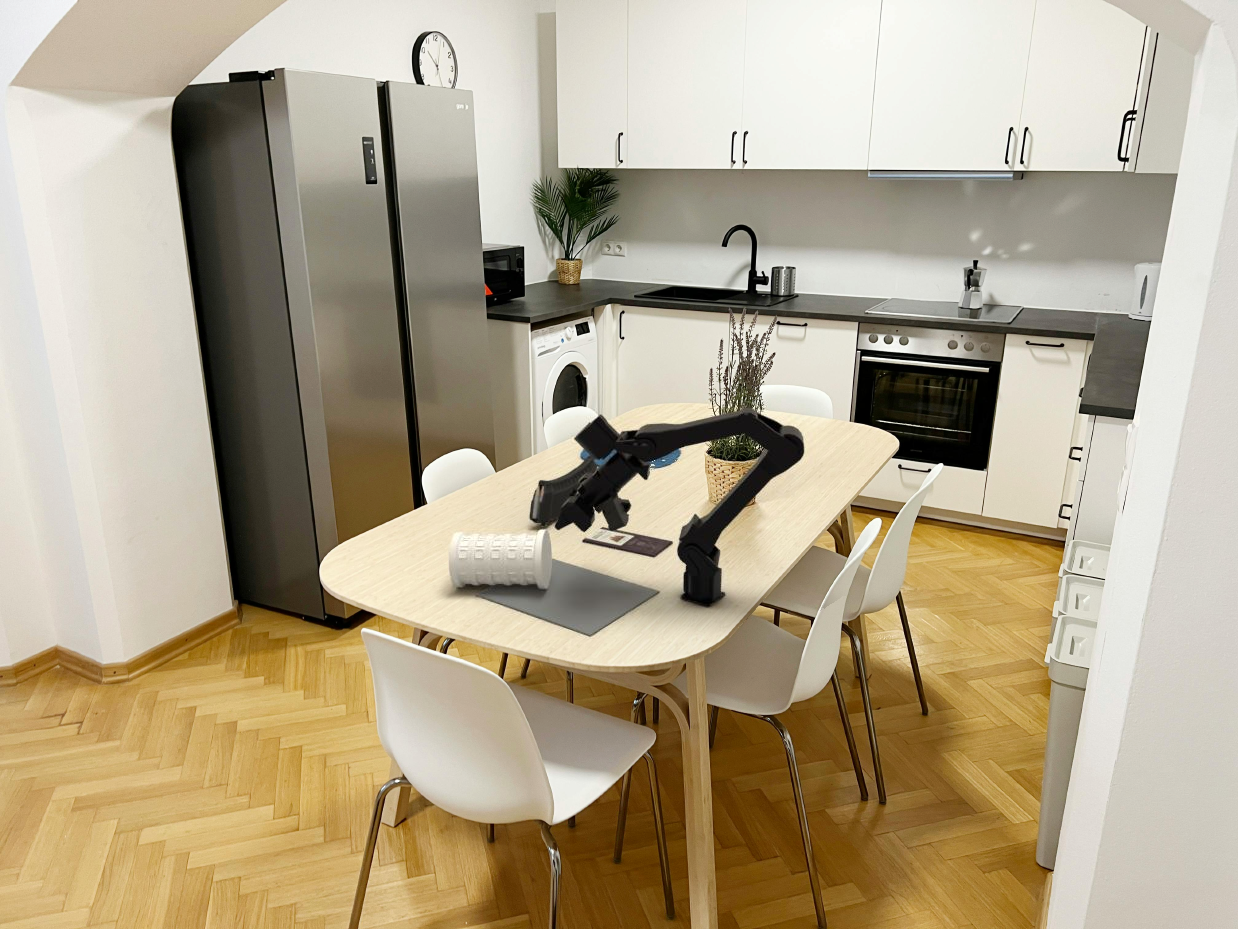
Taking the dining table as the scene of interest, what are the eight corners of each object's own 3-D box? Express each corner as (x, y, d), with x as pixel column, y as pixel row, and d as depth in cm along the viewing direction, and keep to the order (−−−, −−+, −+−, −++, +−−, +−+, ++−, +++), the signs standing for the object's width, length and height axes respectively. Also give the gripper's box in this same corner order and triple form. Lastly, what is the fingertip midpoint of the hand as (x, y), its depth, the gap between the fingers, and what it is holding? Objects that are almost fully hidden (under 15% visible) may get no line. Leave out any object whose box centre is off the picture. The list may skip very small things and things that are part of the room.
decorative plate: (702, 465, 259) (703, 448, 257) (613, 481, 244) (613, 463, 242) (648, 438, 283) (649, 422, 281) (564, 450, 268) (564, 434, 266)
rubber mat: (659, 592, 174) (659, 590, 174) (590, 636, 157) (590, 635, 157) (549, 559, 190) (549, 557, 190) (476, 595, 173) (475, 594, 173)
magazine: (593, 455, 232) (536, 452, 204) (604, 457, 230) (548, 453, 203) (585, 521, 232) (527, 526, 205) (596, 522, 231) (539, 528, 204)
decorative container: (550, 523, 179) (462, 524, 181) (539, 537, 168) (446, 538, 170) (553, 579, 181) (466, 579, 183) (542, 597, 170) (450, 597, 172)
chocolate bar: (654, 555, 190) (582, 540, 199) (654, 559, 191) (582, 543, 199) (672, 541, 198) (602, 526, 206) (672, 545, 198) (602, 530, 207)
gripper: (635, 524, 160) (575, 577, 165) (648, 490, 177) (594, 539, 182) (591, 480, 159) (532, 534, 164) (609, 450, 176) (556, 500, 181)
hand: (556, 528), depth 173 cm, fingers closed
